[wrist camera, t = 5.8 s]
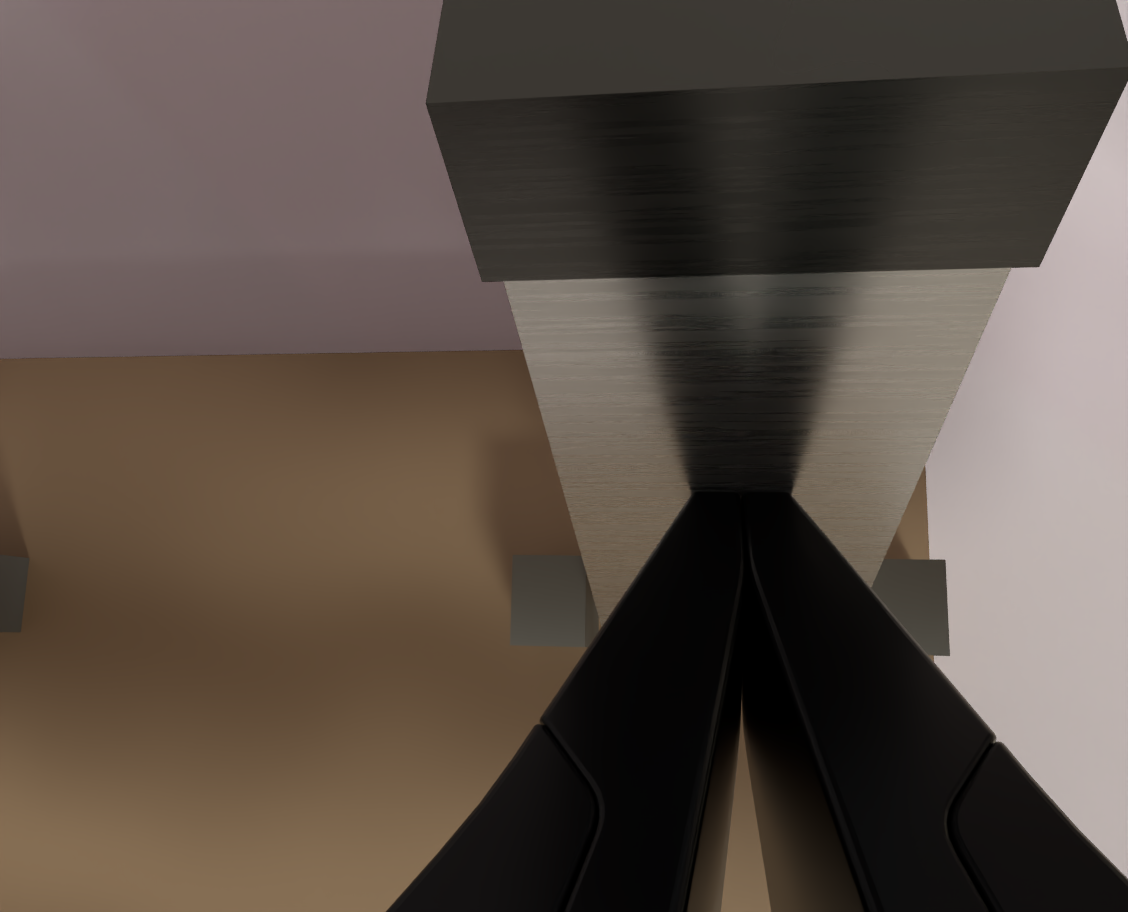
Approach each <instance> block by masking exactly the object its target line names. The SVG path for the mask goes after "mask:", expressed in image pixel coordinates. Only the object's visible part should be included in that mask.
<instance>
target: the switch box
mask: <svg viewBox="0 0 1128 912" xmlns="http://www.w3.org/2000/svg"><path fill="white" fill-rule="evenodd" d="M871 589H872V590H873V591H874V592H875V593H876V595H877V596H878V597H879V598H880V599H881V601H882V602H883V603H884V604H885V605H886V606H887V608H888V609H889V610H890V611H891V612H892V614H893V615H894V616H895V617H896V618H897V619H898V621H899V622H900V623H901V624H902V625H903V626H904V628H905V629H906V630H907V631H908V632H909V634H910V635H911V636H912V637H913V638H914V639H915V641H916V642H917V643H918V644H919V645H920V646H921V648H922V649H923V650H924V651H925V652H926V654H927V655H928V656H929V657H930V658H931V659H932V661H933V662H934V655H936V656H950V649H949V628H948V606H947V585H946V563H945V560H929V540H928V517H927V494H926V471H925V466H924V468H923V471H922V473H921V475H920V477H919V480H918V482H917V484H916V487H915V489H914V491H913V493H912V496H911V498H910V500H909V503H908V505H907V507H906V509H905V512H904V514H903V516H902V519H901V521H900V523H899V525H898V528H897V530H896V532H895V534H894V537H893V539H892V541H891V544H890V546H889V548H888V550H887V553H886V555H885V557H884V560H883V562H882V564H881V566H880V569H879V571H878V573H877V576H876V578H875V580H874V582H873V585H872V587H871ZM601 627H602V626H601V623H600V619H599V616H598V612H597V609H596V605H595V602H594V598H593V595H592V591H591V587H590V584H589V580H588V577H587V573H586V570H585V566H584V563H583V559H582V556H581V552H580V549H579V545H578V542H577V538H576V535H575V531H574V528H573V524H572V521H571V517H570V514H569V510H568V507H567V503H566V499H565V496H564V492H563V489H562V485H561V482H560V478H559V475H558V471H557V468H556V464H555V461H554V457H553V454H552V450H551V447H550V443H549V440H548V436H547V433H546V429H545V426H544V422H543V419H542V415H541V412H540V408H539V404H538V401H537V397H536V394H535V390H534V387H533V383H532V380H531V376H530V373H529V369H528V366H527V362H526V359H525V355H524V352H523V350H493V351H435V352H377V353H318V354H260V355H201V356H143V357H85V358H26V359H0V912H386V911H387V910H388V908H389V907H390V906H391V905H392V904H393V903H394V902H395V900H396V899H397V898H398V897H399V896H400V895H401V894H402V893H403V891H404V890H405V889H406V888H407V887H408V886H409V885H410V884H411V882H412V881H413V880H414V879H415V878H416V877H417V876H418V875H419V873H420V872H421V871H422V870H423V869H424V868H425V867H426V866H427V864H428V863H429V862H430V861H431V860H432V859H433V858H434V857H435V855H436V854H437V853H438V852H439V851H440V850H441V848H442V847H443V846H444V845H445V844H446V842H447V841H448V840H449V839H450V838H451V836H452V835H453V834H454V833H455V832H456V831H457V829H458V828H459V827H460V826H461V825H462V823H463V822H464V821H465V820H466V819H467V817H468V816H469V815H470V814H471V813H472V811H473V810H474V809H475V808H476V807H477V806H478V804H479V803H480V802H481V800H482V799H483V798H484V796H485V795H486V794H487V792H488V791H489V789H490V788H491V787H492V785H493V784H494V783H495V781H496V780H497V779H498V777H499V776H500V774H501V773H502V772H503V770H504V769H505V768H506V766H507V765H508V763H509V762H510V761H511V759H512V758H513V757H514V755H515V754H516V752H517V751H518V749H519V748H520V746H521V745H522V743H523V742H524V740H525V739H526V737H527V736H528V734H529V733H530V731H531V730H532V728H533V727H534V726H535V725H536V724H540V717H541V716H542V714H543V713H544V711H545V710H546V708H547V707H548V706H549V704H550V703H551V701H552V700H553V698H554V697H555V695H556V694H557V692H558V691H559V689H560V688H561V686H562V685H563V683H564V682H565V680H566V679H567V677H568V676H569V674H570V673H571V671H572V670H573V669H574V667H575V666H576V664H577V663H578V661H579V660H580V658H581V657H582V655H583V654H584V652H585V651H586V649H587V648H588V646H589V645H590V643H591V642H592V640H593V639H594V637H595V636H596V635H597V633H598V632H599V630H600V629H601ZM721 912H771V907H770V901H769V894H768V888H767V881H766V875H765V869H764V862H763V856H762V850H761V843H760V837H759V831H758V824H757V818H756V812H755V805H754V799H753V793H752V786H751V780H750V774H749V767H748V761H747V754H746V747H745V739H744V731H743V718H742V701H741V727H740V740H739V753H738V762H737V771H736V780H735V789H734V798H733V807H732V816H731V825H730V834H729V843H728V852H727V861H726V870H725V879H724V888H723V897H722V906H721Z"/></svg>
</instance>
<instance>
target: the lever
mask: <svg viewBox="0 0 1128 912" xmlns="http://www.w3.org/2000/svg"><path fill="white" fill-rule="evenodd" d="M1127 82H1128V41H1127V38H1126V34H1125V31H1124V27H1123V24H1122V20H1121V17H1120V13H1119V10H1118V6H1117V3H1116V0H443V6H442V12H441V18H440V24H439V29H438V35H437V41H436V47H435V53H434V59H433V64H432V70H431V76H430V82H429V88H428V94H427V100H426V105H427V109H428V112H429V115H430V118H431V121H432V124H433V128H434V131H435V134H436V137H437V140H438V143H439V147H440V150H441V153H442V156H443V159H444V163H445V166H446V169H447V172H448V175H449V178H450V182H451V185H452V188H453V191H454V194H455V197H456V201H457V204H458V207H459V210H460V213H461V216H462V220H463V223H464V226H465V229H466V232H467V236H468V239H469V242H470V245H471V248H472V251H473V255H474V258H475V261H476V264H477V267H478V270H479V274H480V277H481V280H482V282H496V281H504V285H505V288H506V292H507V295H508V299H509V302H510V306H511V309H512V313H513V316H514V320H515V324H516V327H517V331H518V334H519V338H520V341H521V345H522V348H523V352H524V355H525V359H526V362H527V366H528V369H529V373H530V376H531V380H532V383H533V387H534V390H535V394H536V397H537V401H538V404H539V408H540V412H541V415H542V419H543V422H544V426H545V429H546V433H547V436H548V440H549V443H550V447H551V450H552V454H553V457H554V461H555V464H556V468H557V471H558V475H559V478H560V482H561V485H562V489H563V492H564V496H565V499H566V503H567V507H568V510H569V514H570V517H571V521H572V524H573V528H574V531H575V535H576V538H577V542H578V545H579V549H580V552H581V556H582V559H583V563H584V566H585V570H586V573H587V577H588V580H589V584H590V587H591V591H592V595H593V598H594V602H595V605H596V609H597V612H598V616H599V619H600V623H601V626H603V624H604V623H605V621H606V620H607V618H608V617H609V615H610V614H611V612H612V611H613V609H614V608H615V606H616V605H617V603H618V602H619V601H620V599H621V598H622V596H623V595H624V593H625V592H626V590H627V589H628V587H629V586H630V584H631V583H632V581H633V580H634V578H635V577H636V575H637V574H638V572H639V571H640V569H641V568H642V567H643V565H644V564H645V562H646V561H647V559H648V558H649V556H650V555H651V553H652V552H653V550H654V549H655V547H656V546H657V544H658V543H659V541H660V540H661V538H662V537H663V535H664V534H665V533H666V531H667V530H668V528H669V527H670V525H671V524H672V522H673V521H674V519H675V518H676V516H677V515H678V513H679V512H680V510H681V509H682V507H683V506H684V504H685V503H686V501H687V500H688V499H689V497H690V496H691V494H692V493H694V492H736V493H738V494H739V495H740V498H742V495H743V494H744V493H746V492H788V493H790V494H791V495H792V496H793V497H794V498H795V499H796V500H797V502H798V503H799V504H800V505H801V506H802V507H803V509H804V510H805V511H806V512H807V513H808V515H809V516H810V517H811V518H812V519H813V520H814V522H815V523H816V524H817V525H818V526H819V528H820V529H821V530H822V531H823V532H824V533H825V535H826V536H827V537H828V538H829V539H830V540H831V542H832V543H833V544H834V545H835V546H836V548H837V549H838V550H839V551H840V552H841V553H842V555H843V556H844V557H845V558H846V559H847V560H848V562H849V563H850V564H851V565H852V566H853V568H854V569H855V570H856V571H857V572H858V573H859V575H860V576H861V577H862V578H863V579H864V581H865V582H866V583H867V584H868V585H869V586H870V588H871V587H872V585H873V582H874V580H875V578H876V576H877V573H878V571H879V569H880V566H881V564H882V562H883V560H884V557H885V555H886V553H887V550H888V548H889V546H890V544H891V541H892V539H893V537H894V534H895V532H896V530H897V528H898V525H899V523H900V521H901V519H902V516H903V514H904V512H905V509H906V507H907V505H908V503H909V500H910V498H911V496H912V493H913V491H914V489H915V487H916V484H917V482H918V480H919V477H920V475H921V473H922V471H923V468H924V466H925V464H926V462H927V459H928V457H929V455H930V452H931V450H932V448H933V446H934V443H935V441H936V439H937V436H938V434H939V432H940V430H941V427H942V425H943V423H944V420H945V418H946V416H947V414H948V411H949V409H950V407H951V404H952V402H953V400H954V398H955V395H956V393H957V391H958V389H959V386H960V384H961V382H962V379H963V377H964V375H965V373H966V370H967V368H968V366H969V363H970V361H971V359H972V357H973V354H974V352H975V350H976V347H977V345H978V343H979V341H980V338H981V336H982V334H983V332H984V329H985V327H986V325H987V322H988V320H989V318H990V316H991V313H992V311H993V309H994V306H995V304H996V302H997V300H998V297H999V295H1000V293H1001V290H1002V288H1003V286H1004V284H1005V281H1006V279H1007V277H1008V274H1009V272H1010V270H1011V268H1020V267H1039V266H1040V264H1041V262H1042V260H1043V258H1044V256H1045V254H1046V251H1047V249H1048V247H1049V245H1050V243H1051V241H1052V239H1053V237H1054V235H1055V233H1056V230H1057V228H1058V226H1059V224H1060V222H1061V220H1062V218H1063V216H1064V214H1065V212H1066V210H1067V207H1068V205H1069V203H1070V201H1071V199H1072V197H1073V195H1074V193H1075V191H1076V189H1077V186H1078V184H1079V182H1080V180H1081V178H1082V176H1083V174H1084V172H1085V170H1086V168H1087V165H1088V163H1089V161H1090V159H1091V157H1092V155H1093V153H1094V151H1095V149H1096V147H1097V145H1098V142H1099V140H1100V138H1101V136H1102V134H1103V132H1104V130H1105V128H1106V126H1107V124H1108V121H1109V119H1110V117H1111V115H1112V113H1113V111H1114V109H1115V107H1116V105H1117V103H1118V100H1119V98H1120V96H1121V94H1122V92H1123V90H1124V88H1125V86H1126V84H1127Z"/></svg>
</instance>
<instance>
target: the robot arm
mask: <svg viewBox="0 0 1128 912" xmlns="http://www.w3.org/2000/svg"><path fill="white" fill-rule="evenodd" d="M741 701H742V718H743V731H744V739H745V747H746V754H747V761H748V767H749V774H750V780H751V786H752V793H753V799H754V805H755V812H756V818H757V824H758V831H759V837H760V843H761V850H762V856H763V862H764V869H765V875H766V881H767V888H768V894H769V901H770V907H771V912H1128V879H1127V878H1126V877H1125V876H1124V875H1123V874H1122V873H1121V872H1120V871H1119V870H1118V868H1117V867H1116V866H1115V865H1114V864H1113V863H1112V862H1111V861H1110V860H1109V859H1108V858H1107V857H1106V856H1105V855H1104V854H1103V853H1102V852H1101V851H1100V850H1099V849H1098V848H1097V847H1096V846H1095V845H1094V844H1093V843H1092V842H1091V841H1090V840H1089V839H1088V838H1087V837H1086V836H1085V835H1084V834H1083V833H1082V832H1081V831H1080V830H1079V829H1078V828H1077V827H1076V826H1075V825H1074V824H1073V822H1072V821H1071V820H1070V819H1069V818H1068V817H1067V816H1066V815H1065V814H1064V812H1063V811H1062V810H1061V809H1060V808H1059V807H1058V806H1057V805H1056V804H1055V802H1054V801H1053V800H1052V799H1051V798H1050V797H1049V796H1048V795H1047V794H1046V792H1045V791H1044V790H1043V789H1042V788H1041V787H1040V786H1039V785H1038V783H1037V782H1036V781H1035V780H1034V779H1033V778H1032V777H1031V776H1030V774H1029V773H1028V772H1027V771H1026V770H1025V769H1024V767H1023V766H1022V765H1021V764H1020V763H1019V762H1018V760H1017V759H1016V758H1015V757H1014V756H1013V754H1012V753H1011V752H1010V751H1009V750H1008V748H1007V747H1006V746H1005V745H1004V744H1003V743H1002V742H996V736H995V734H994V732H993V731H992V730H991V729H990V728H989V727H988V725H987V724H986V723H985V722H984V721H983V720H982V718H981V717H980V716H979V715H978V714H977V712H976V711H975V710H974V709H973V708H972V707H971V705H970V704H969V703H968V702H967V701H966V699H965V698H964V697H963V696H962V695H961V694H960V692H959V691H958V690H957V689H956V688H955V687H954V685H953V684H952V683H951V682H950V681H949V679H948V678H947V677H946V676H945V675H944V674H943V672H942V671H941V670H940V669H939V668H938V667H937V665H936V664H935V663H934V662H933V661H932V659H931V658H930V657H929V656H928V655H927V654H926V652H925V651H924V650H923V649H922V648H921V646H920V645H919V644H918V643H917V642H916V641H915V639H914V638H913V637H912V636H911V635H910V634H909V632H908V631H907V630H906V629H905V628H904V626H903V625H902V624H901V623H900V622H899V621H898V619H897V618H896V617H895V616H894V615H893V614H892V612H891V611H890V610H889V609H888V608H887V606H886V605H885V604H884V603H883V602H882V601H881V599H880V598H879V597H878V596H877V595H876V593H875V592H874V591H873V590H872V589H871V588H870V586H869V585H868V584H867V583H866V582H865V581H864V579H863V578H862V577H861V576H860V575H859V573H858V572H857V571H856V570H855V569H854V568H853V566H852V565H851V564H850V563H849V562H848V560H847V559H846V558H845V557H844V556H843V555H842V553H841V552H840V551H839V550H838V549H837V548H836V546H835V545H834V544H833V543H832V542H831V540H830V539H829V538H828V537H827V536H826V535H825V533H824V532H823V531H822V530H821V529H820V528H819V526H818V525H817V524H816V523H815V522H814V520H813V519H812V518H811V517H810V516H809V515H808V513H807V512H806V511H805V510H804V509H803V507H802V506H801V505H800V504H799V503H798V502H797V500H796V499H795V498H794V497H793V496H792V495H791V494H790V493H788V492H746V493H744V494H743V495H742V498H740V495H739V494H738V493H736V492H694V493H692V494H691V496H690V497H689V499H688V500H687V501H686V503H685V504H684V506H683V507H682V509H681V510H680V512H679V513H678V515H677V516H676V518H675V519H674V521H673V522H672V524H671V525H670V527H669V528H668V530H667V531H666V533H665V534H664V535H663V537H662V538H661V540H660V541H659V543H658V544H657V546H656V547H655V549H654V550H653V552H652V553H651V555H650V556H649V558H648V559H647V561H646V562H645V564H644V565H643V567H642V568H641V569H640V571H639V572H638V574H637V575H636V577H635V578H634V580H633V581H632V583H631V584H630V586H629V587H628V589H627V590H626V592H625V593H624V595H623V596H622V598H621V599H620V601H619V602H618V603H617V605H616V606H615V608H614V609H613V611H612V612H611V614H610V615H609V617H608V618H607V620H606V621H605V623H604V624H603V626H602V627H601V629H600V630H599V632H598V633H597V635H596V636H595V637H594V639H593V640H592V642H591V643H590V645H589V646H588V648H587V649H586V651H585V652H584V654H583V655H582V657H581V658H580V660H579V661H578V663H577V664H576V666H575V667H574V669H573V670H572V671H571V673H570V674H569V676H568V677H567V679H566V680H565V682H564V683H563V685H562V686H561V688H560V689H559V691H558V692H557V694H556V695H555V697H554V698H553V700H552V701H551V703H550V704H549V706H548V707H547V708H546V710H545V711H544V713H543V714H542V716H541V717H540V724H536V725H535V726H534V727H533V728H532V730H531V731H530V733H529V734H528V736H527V737H526V739H525V740H524V742H523V743H522V745H521V746H520V748H519V749H518V751H517V752H516V754H515V755H514V757H513V758H512V759H511V761H510V762H509V763H508V765H507V766H506V768H505V769H504V770H503V772H502V773H501V774H500V776H499V777H498V779H497V780H496V781H495V783H494V784H493V785H492V787H491V788H490V789H489V791H488V792H487V794H486V795H485V796H484V798H483V799H482V800H481V802H480V803H479V804H478V806H477V807H476V808H475V809H474V810H473V811H472V813H471V814H470V815H469V816H468V817H467V819H466V820H465V821H464V822H463V823H462V825H461V826H460V827H459V828H458V829H457V831H456V832H455V833H454V834H453V835H452V836H451V838H450V839H449V840H448V841H447V842H446V844H445V845H444V846H443V847H442V848H441V850H440V851H439V852H438V853H437V854H436V855H435V857H434V858H433V859H432V860H431V861H430V862H429V863H428V864H427V866H426V867H425V868H424V869H423V870H422V871H421V872H420V873H419V875H418V876H417V877H416V878H415V879H414V880H413V881H412V882H411V884H410V885H409V886H408V887H407V888H406V889H405V890H404V891H403V893H402V894H401V895H400V896H399V897H398V898H397V899H396V900H395V902H394V903H393V904H392V905H391V906H390V907H389V908H388V910H387V911H386V912H721V906H722V897H723V888H724V879H725V870H726V861H727V852H728V843H729V834H730V825H731V816H732V807H733V798H734V789H735V780H736V771H737V762H738V753H739V740H740V727H741Z"/></svg>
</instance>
